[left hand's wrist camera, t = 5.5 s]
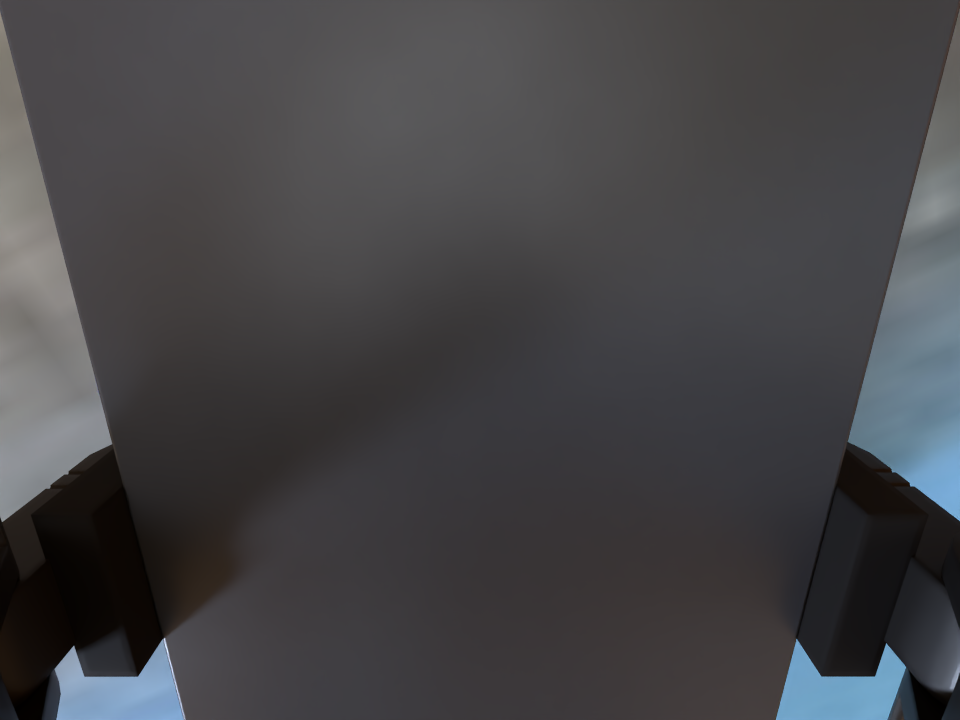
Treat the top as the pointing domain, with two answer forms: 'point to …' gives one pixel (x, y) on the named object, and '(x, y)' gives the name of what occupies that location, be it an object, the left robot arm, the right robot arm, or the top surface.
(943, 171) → the top surface
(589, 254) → the slab
